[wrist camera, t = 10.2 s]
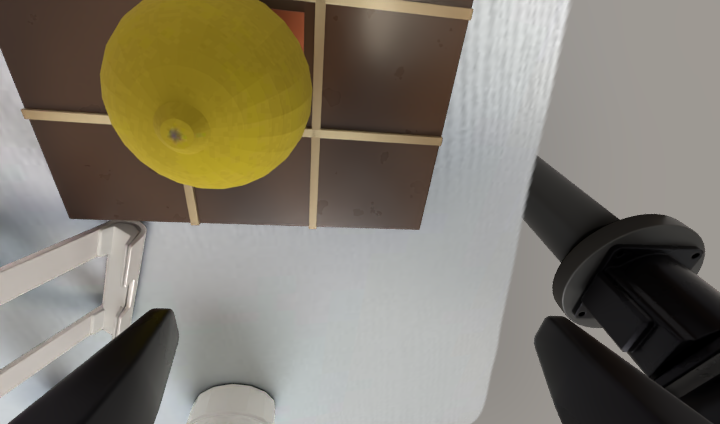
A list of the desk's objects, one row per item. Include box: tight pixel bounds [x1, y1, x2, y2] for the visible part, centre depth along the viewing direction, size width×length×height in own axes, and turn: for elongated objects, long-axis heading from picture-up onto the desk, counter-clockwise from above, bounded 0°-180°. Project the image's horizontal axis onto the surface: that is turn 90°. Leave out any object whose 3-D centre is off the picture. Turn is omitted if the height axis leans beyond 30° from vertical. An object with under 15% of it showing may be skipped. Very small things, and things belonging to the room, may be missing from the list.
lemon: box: [100, 0, 312, 189], centre depth 11 cm, size 6×6×8 cm
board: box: [0, 0, 473, 230], centre depth 15 cm, size 18×16×2 cm
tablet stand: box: [0, 220, 147, 398], centre depth 17 cm, size 9×8×8 cm
